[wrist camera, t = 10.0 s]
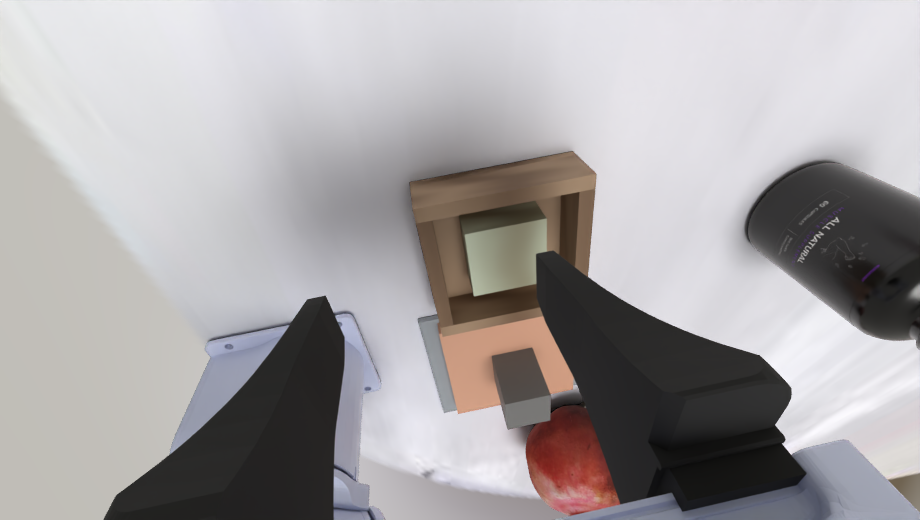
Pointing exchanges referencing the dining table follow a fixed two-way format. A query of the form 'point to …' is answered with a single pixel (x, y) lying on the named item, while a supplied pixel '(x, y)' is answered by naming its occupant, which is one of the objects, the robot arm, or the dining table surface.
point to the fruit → (569, 463)
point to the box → (501, 235)
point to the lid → (507, 370)
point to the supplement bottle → (847, 245)
